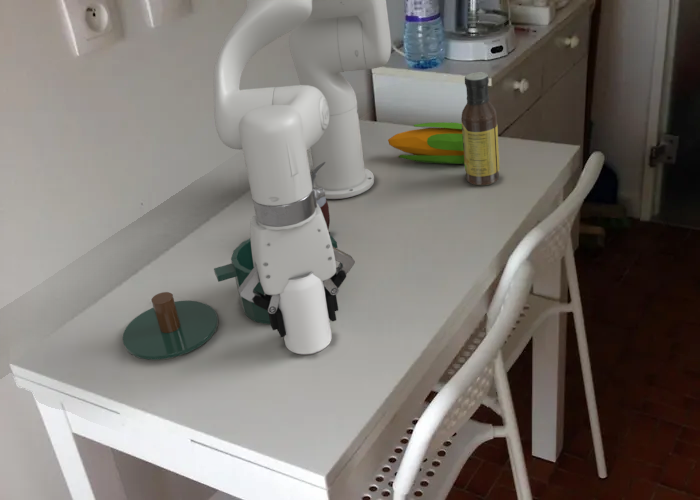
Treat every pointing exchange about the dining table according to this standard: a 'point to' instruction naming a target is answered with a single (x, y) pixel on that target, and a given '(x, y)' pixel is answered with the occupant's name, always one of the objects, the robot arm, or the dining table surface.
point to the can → (305, 315)
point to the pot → (240, 271)
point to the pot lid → (170, 328)
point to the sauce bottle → (480, 132)
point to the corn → (432, 143)
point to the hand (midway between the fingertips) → (305, 322)
